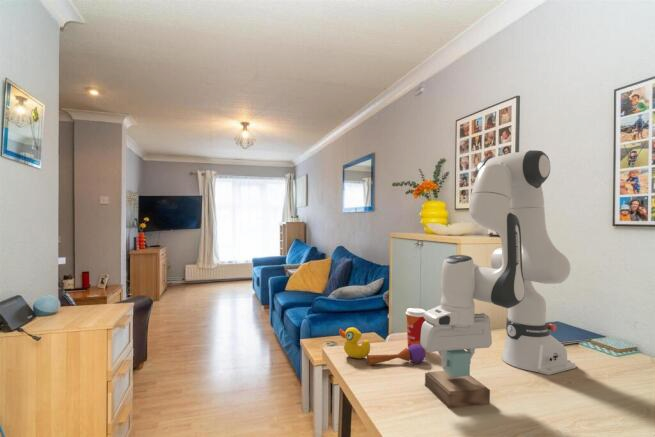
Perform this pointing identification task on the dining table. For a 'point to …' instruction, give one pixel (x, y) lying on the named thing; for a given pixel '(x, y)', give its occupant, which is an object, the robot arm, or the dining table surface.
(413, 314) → the paper cup
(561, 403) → the dining table surface
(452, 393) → the walnut base
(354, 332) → the duckling
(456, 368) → the teal block
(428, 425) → the dining table surface
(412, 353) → the kendama
